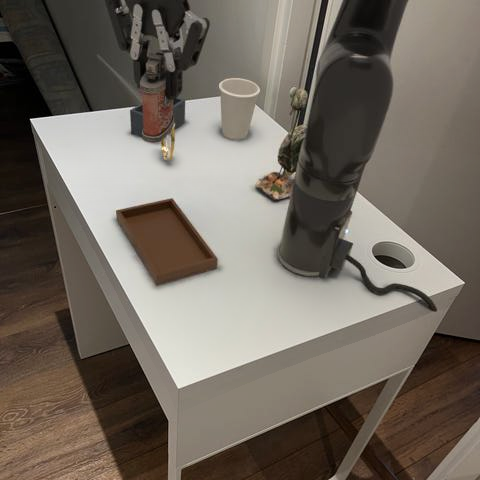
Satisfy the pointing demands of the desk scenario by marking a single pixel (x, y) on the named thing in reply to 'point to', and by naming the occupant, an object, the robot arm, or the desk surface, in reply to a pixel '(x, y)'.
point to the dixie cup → (237, 106)
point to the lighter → (156, 100)
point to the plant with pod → (287, 154)
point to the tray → (166, 241)
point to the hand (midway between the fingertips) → (158, 92)
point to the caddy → (137, 116)
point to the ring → (168, 145)
